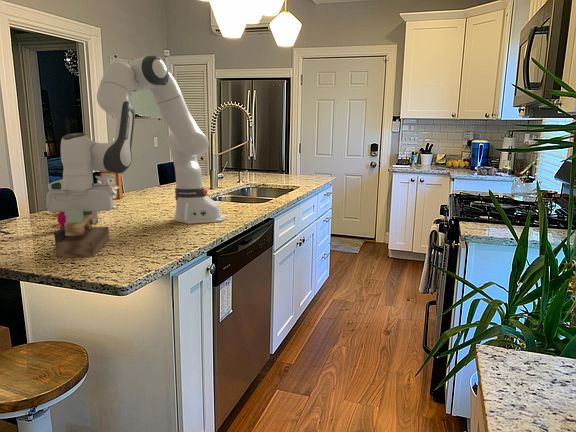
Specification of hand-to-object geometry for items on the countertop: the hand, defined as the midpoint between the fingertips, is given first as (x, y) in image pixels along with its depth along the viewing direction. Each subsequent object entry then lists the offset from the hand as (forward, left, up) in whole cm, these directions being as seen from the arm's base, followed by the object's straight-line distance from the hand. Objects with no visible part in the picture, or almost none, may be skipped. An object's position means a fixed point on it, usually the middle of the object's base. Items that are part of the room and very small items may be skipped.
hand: (82, 224), depth 147 cm
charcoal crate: (0, -6, +2) cm, 7 cm away
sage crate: (0, +7, +2) cm, 7 cm away
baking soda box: (+15, -100, -9) cm, 101 cm away
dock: (0, 0, -8) cm, 8 cm away
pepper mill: (+14, -27, -9) cm, 31 cm away
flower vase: (+15, -66, -9) cm, 68 cm away
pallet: (0, 0, -2) cm, 2 cm away
